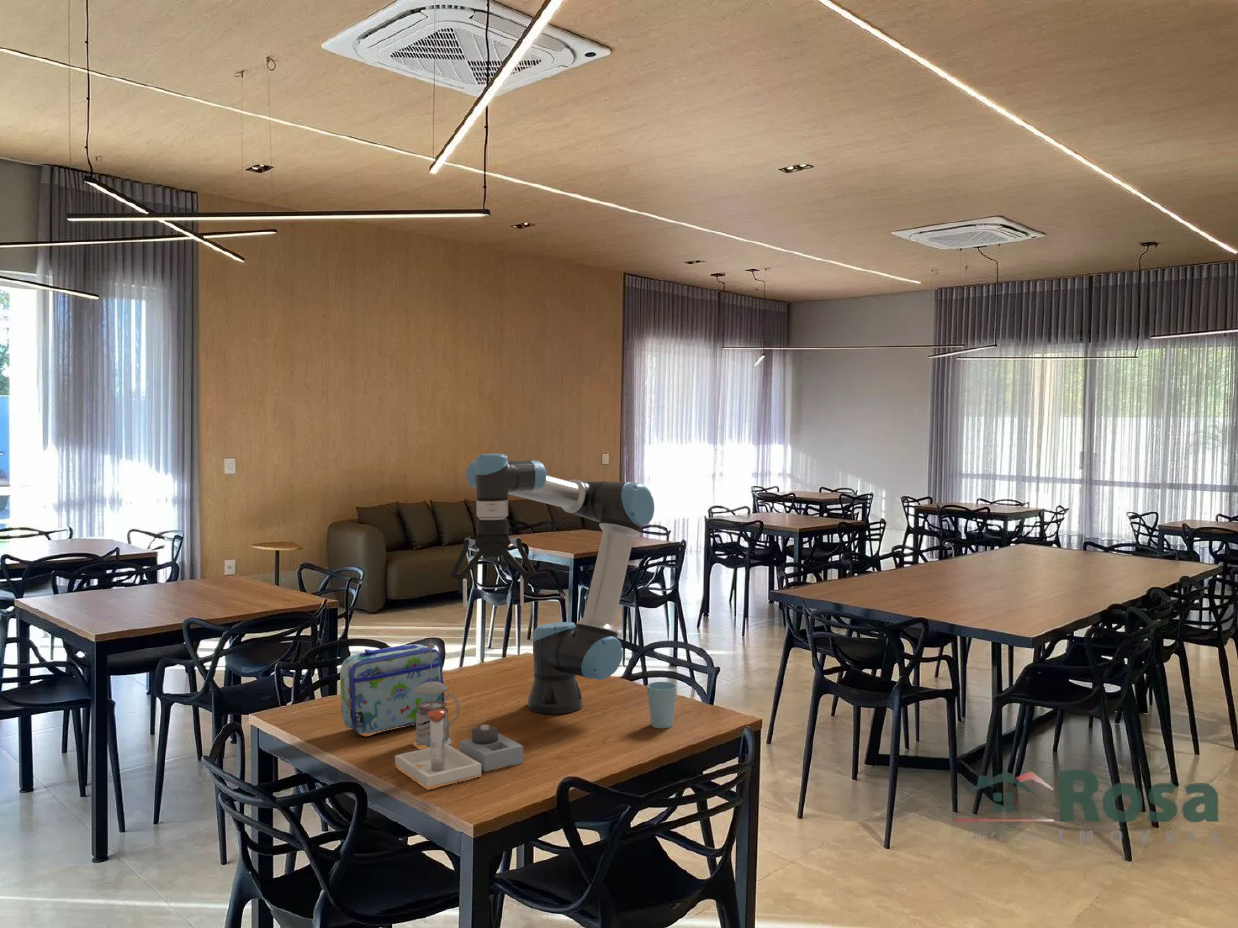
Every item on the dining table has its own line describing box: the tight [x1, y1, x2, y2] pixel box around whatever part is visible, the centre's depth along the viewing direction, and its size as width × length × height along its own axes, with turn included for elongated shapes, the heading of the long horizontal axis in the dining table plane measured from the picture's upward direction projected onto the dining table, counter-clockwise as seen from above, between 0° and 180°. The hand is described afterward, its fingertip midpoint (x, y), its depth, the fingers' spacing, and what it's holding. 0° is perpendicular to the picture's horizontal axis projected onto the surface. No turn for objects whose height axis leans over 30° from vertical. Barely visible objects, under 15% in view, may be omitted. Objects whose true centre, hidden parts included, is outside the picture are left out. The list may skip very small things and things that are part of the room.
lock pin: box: [428, 709, 446, 772], centre depth 217 cm, size 4×4×13 cm
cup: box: [646, 681, 678, 729], centre depth 249 cm, size 8×8×10 cm
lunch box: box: [339, 643, 446, 735], centre depth 250 cm, size 26×11×21 cm, turn 126°
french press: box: [415, 642, 460, 747], centre depth 236 cm, size 10×12×25 cm
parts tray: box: [394, 744, 482, 787], centre depth 217 cm, size 17×13×3 cm
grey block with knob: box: [459, 724, 524, 771], centre depth 224 cm, size 12×10×7 cm
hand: (493, 606), depth 232 cm, fingers open, 13 cm apart
